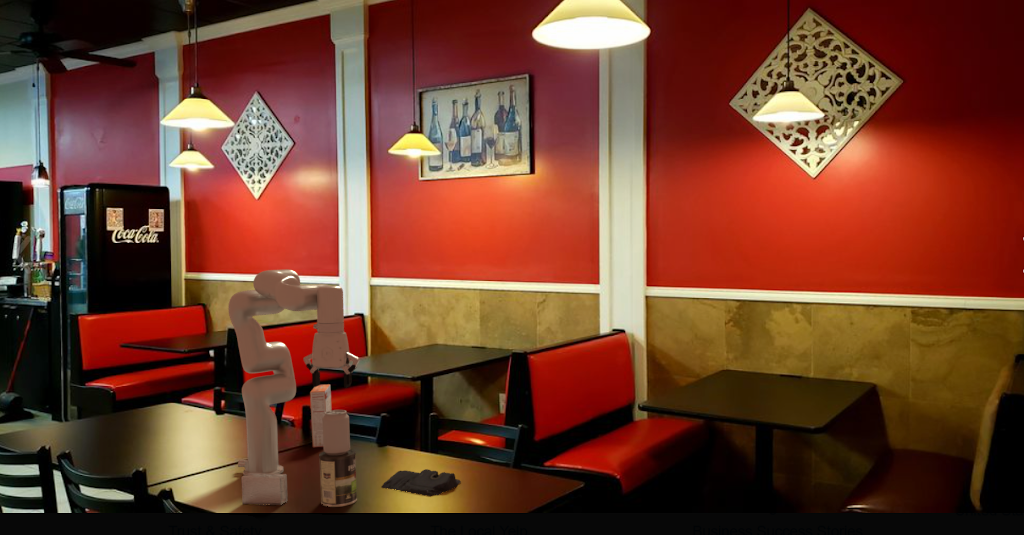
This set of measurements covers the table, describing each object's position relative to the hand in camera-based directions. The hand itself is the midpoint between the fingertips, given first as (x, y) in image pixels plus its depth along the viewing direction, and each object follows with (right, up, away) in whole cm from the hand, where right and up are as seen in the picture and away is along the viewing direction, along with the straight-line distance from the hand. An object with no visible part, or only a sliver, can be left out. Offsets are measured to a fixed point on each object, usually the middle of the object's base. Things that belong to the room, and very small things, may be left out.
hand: (332, 386), depth 233 cm
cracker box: (-19, -31, +66) cm, 75 cm away
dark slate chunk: (+25, -32, +10) cm, 42 cm away
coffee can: (+3, -33, -4) cm, 33 cm away
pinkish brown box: (-19, -33, -3) cm, 38 cm away
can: (+2, -19, -4) cm, 19 cm away
